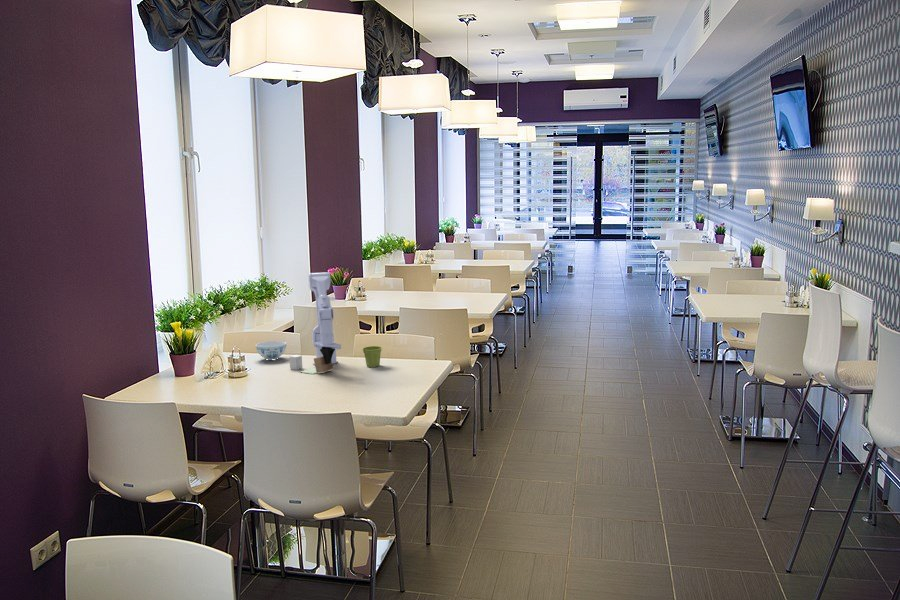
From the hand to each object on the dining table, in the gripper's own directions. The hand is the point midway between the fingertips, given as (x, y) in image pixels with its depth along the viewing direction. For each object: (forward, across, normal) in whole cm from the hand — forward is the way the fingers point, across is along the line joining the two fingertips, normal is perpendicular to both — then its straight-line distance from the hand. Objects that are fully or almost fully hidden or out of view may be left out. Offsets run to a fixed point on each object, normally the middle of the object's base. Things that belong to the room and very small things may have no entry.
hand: (328, 363), depth 358 cm
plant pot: (+5, +10, +20) cm, 23 cm away
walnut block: (+4, -2, 0) cm, 5 cm away
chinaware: (+5, -46, +10) cm, 47 cm away
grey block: (+4, -20, 0) cm, 20 cm away
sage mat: (+4, -8, 0) cm, 10 cm away
